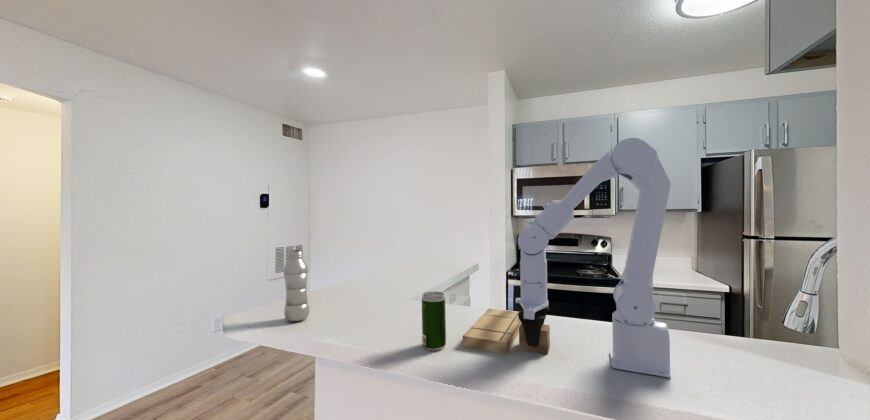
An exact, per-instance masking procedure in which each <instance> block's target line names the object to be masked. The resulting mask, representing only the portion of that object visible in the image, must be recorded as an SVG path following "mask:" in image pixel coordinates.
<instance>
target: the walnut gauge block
mask: <svg viewBox="0 0 870 420" xmlns="http://www.w3.org/2000/svg"><path fill="white" fill-rule="evenodd" d="M550 331H551V329H550V324H542V327H541V332H540V340H539V344H538V347H533V346H528V344H527V340H526V336H525V331H524V328H523V325H522V323H521V325H520V327H519V333H518V345H519V346H518V349H519V350H520V351H527V352H531V353H538V354H544V355H549V351H550V347H551V343H550V341H551V340H550V335H551V334H550Z"/></svg>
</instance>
